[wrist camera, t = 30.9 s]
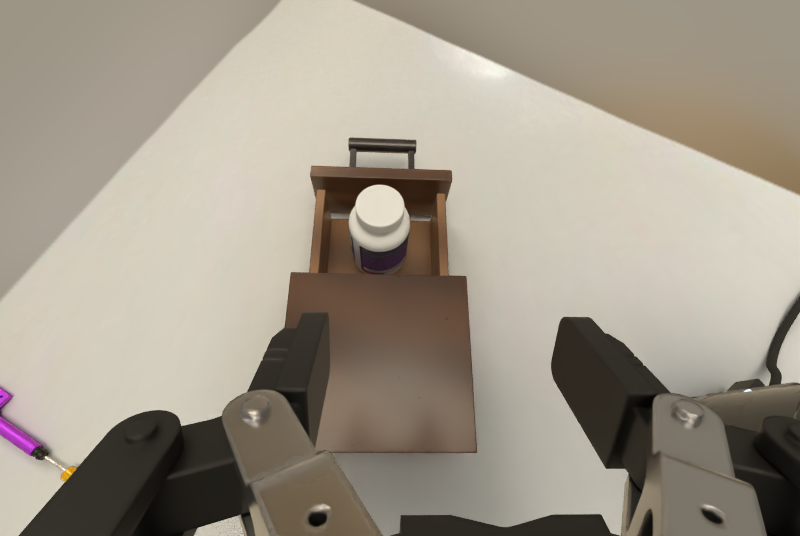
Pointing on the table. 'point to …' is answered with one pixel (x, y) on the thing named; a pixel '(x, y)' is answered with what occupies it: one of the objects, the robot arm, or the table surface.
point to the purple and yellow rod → (27, 440)
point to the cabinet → (392, 361)
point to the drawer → (420, 198)
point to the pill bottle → (379, 230)
